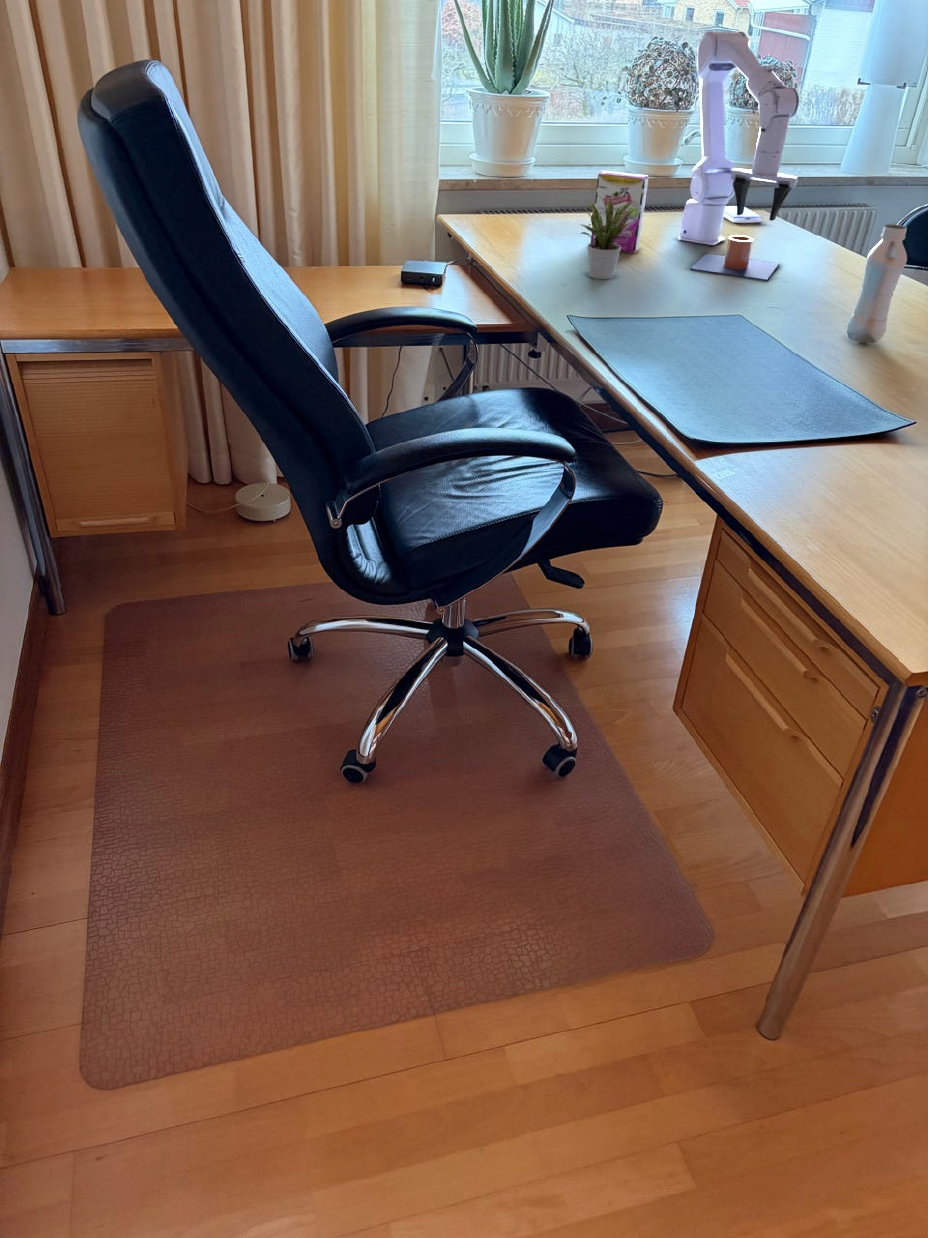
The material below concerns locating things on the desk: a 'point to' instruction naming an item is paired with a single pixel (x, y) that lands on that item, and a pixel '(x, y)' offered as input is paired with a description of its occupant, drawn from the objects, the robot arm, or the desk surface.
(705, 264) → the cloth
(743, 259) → the cup
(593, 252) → the house plant
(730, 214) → the hard drive
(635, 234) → the candy bar box
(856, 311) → the plastic bottle
